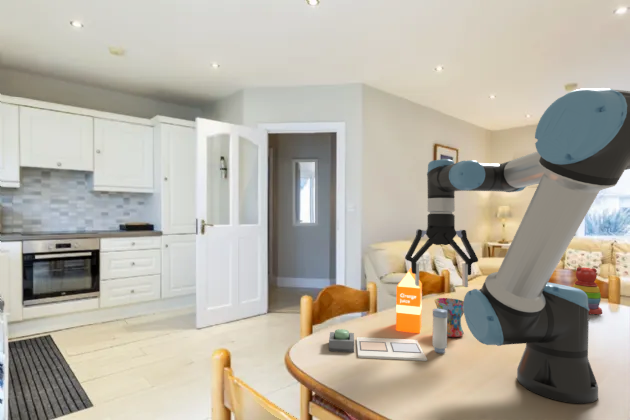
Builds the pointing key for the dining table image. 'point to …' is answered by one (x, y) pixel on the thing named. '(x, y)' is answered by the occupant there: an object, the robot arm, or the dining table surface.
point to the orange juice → (409, 304)
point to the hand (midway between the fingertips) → (440, 285)
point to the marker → (439, 330)
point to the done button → (342, 334)
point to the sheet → (390, 349)
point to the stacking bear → (589, 288)
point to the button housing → (341, 343)
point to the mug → (452, 315)
